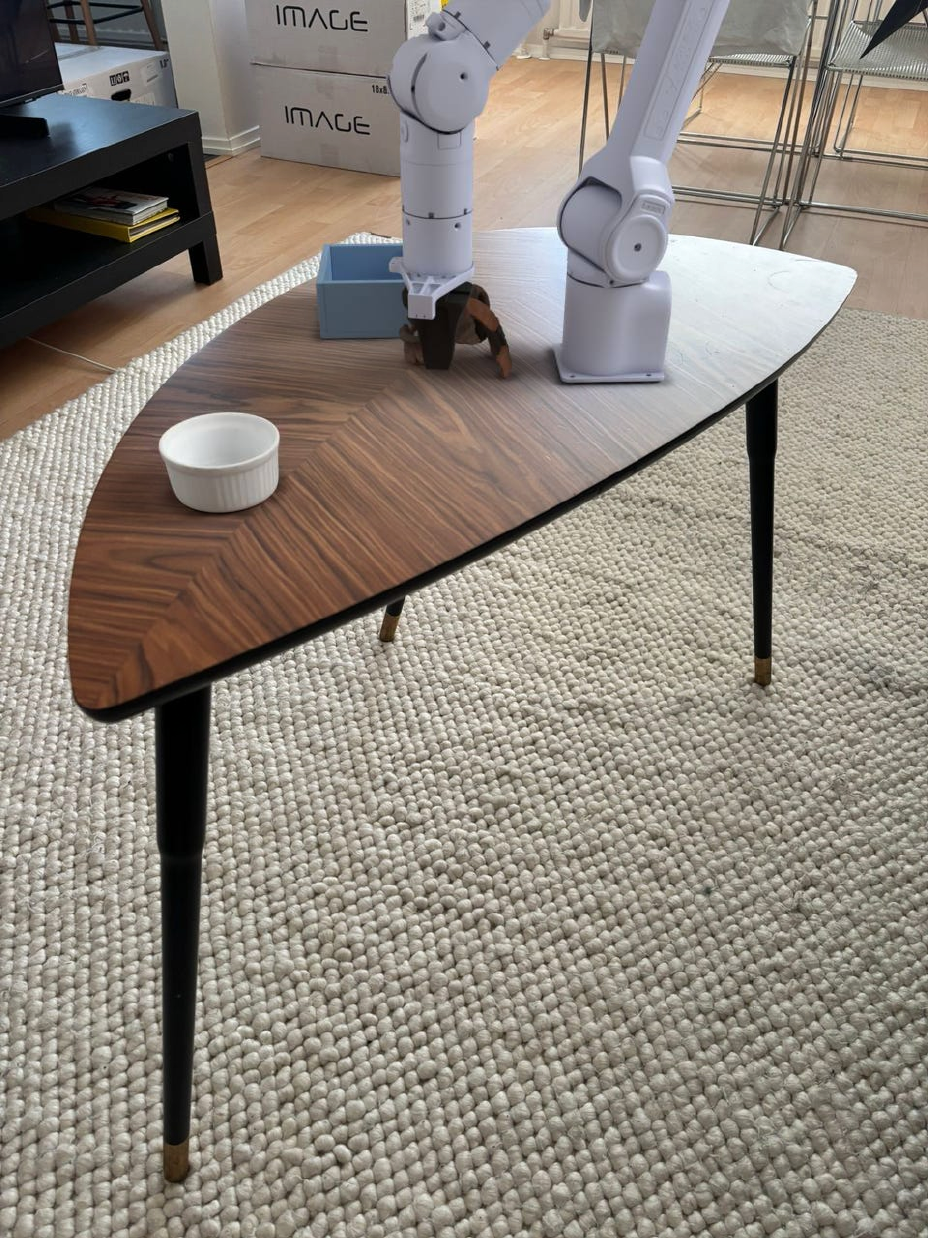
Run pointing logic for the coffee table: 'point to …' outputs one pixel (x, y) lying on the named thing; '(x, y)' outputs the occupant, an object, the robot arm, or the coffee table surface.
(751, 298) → the coffee table surface
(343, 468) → the coffee table surface
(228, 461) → the ramekin
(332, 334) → the bin
